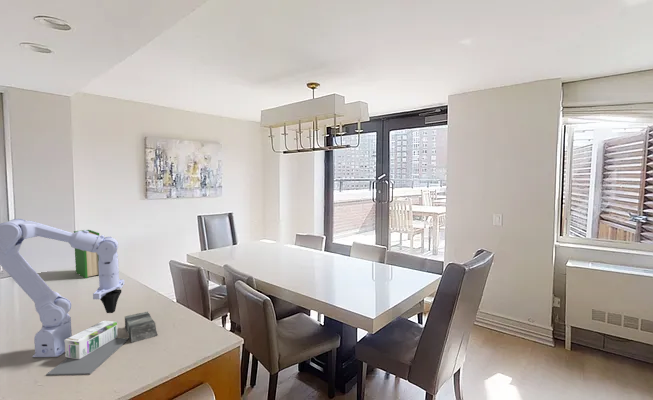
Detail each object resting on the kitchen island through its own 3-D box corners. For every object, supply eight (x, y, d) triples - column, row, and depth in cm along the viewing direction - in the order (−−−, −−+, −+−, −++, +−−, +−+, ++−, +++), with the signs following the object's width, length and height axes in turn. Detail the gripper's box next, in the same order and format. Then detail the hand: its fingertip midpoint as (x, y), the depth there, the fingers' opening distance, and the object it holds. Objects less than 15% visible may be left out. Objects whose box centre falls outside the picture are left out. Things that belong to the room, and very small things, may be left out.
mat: (90, 374, 95) (89, 373, 95) (46, 375, 95) (46, 374, 95) (129, 339, 116) (129, 338, 116) (93, 339, 115) (93, 338, 115)
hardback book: (101, 275, 188) (99, 233, 186) (85, 278, 182) (83, 234, 181) (91, 269, 199) (89, 229, 198) (76, 272, 194) (73, 231, 192)
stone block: (151, 322, 130) (151, 309, 129) (160, 336, 119) (159, 322, 118) (124, 328, 124) (124, 314, 124) (131, 344, 113) (130, 328, 113)
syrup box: (118, 337, 116) (80, 360, 102) (103, 335, 117) (63, 357, 103) (117, 321, 116) (79, 341, 102) (103, 319, 117) (63, 339, 103)
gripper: (108, 279, 107) (110, 321, 108) (132, 267, 122) (133, 303, 123) (85, 280, 107) (87, 321, 108) (112, 267, 121) (114, 304, 122)
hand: (110, 312), depth 115 cm, fingers closed
